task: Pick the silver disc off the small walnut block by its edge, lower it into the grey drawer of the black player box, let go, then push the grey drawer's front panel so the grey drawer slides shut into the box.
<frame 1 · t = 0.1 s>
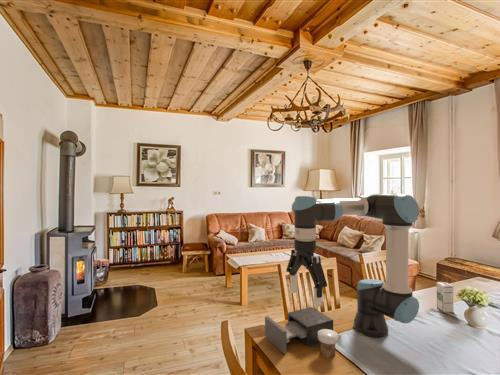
hand: (305, 299, 99), 28 cm above the table, fingers open, 13 cm apart
grey drawer: (288, 330, 123), point 5 cm above the table, slide at 10.0 cm
pedestal: (327, 353, 113), on the table
housing: (310, 334, 128), on the table
disc: (327, 339, 113), point 6 cm above the table, touching pedestal
syrup box: (445, 310, 154), on the table
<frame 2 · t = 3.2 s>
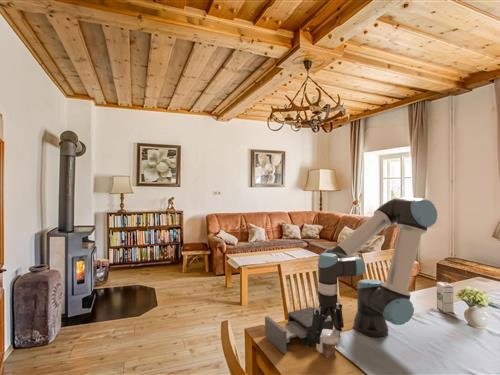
hand: (327, 348, 113), 2 cm above the table, fingers closed on disc, 8 cm apart
disc: (327, 338, 113), point 6 cm above the table, touching gripper, pedestal
everything else where it was.
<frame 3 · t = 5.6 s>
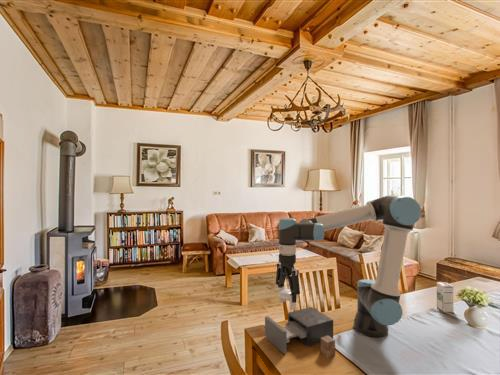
hand: (287, 305, 122), 16 cm above the table, fingers closed on disc, 8 cm apart
disc: (287, 296, 122), point 20 cm above the table, touching gripper
everything else where it was.
when the fingers open (2 cm above the table, at t = 8.0 s): disc drops 2 cm, resting on grey drawer.
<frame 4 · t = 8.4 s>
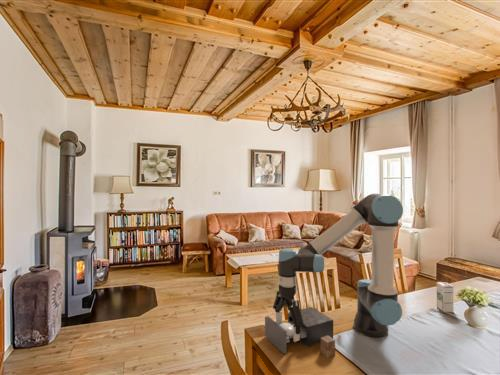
hand: (287, 333, 122), 4 cm above the table, fingers open, 13 cm apart
grey drawer: (288, 330, 123), point 5 cm above the table, slide at 10.0 cm, touching disc
disc: (287, 331, 122), point 4 cm above the table, touching grey drawer
everything else where it was.
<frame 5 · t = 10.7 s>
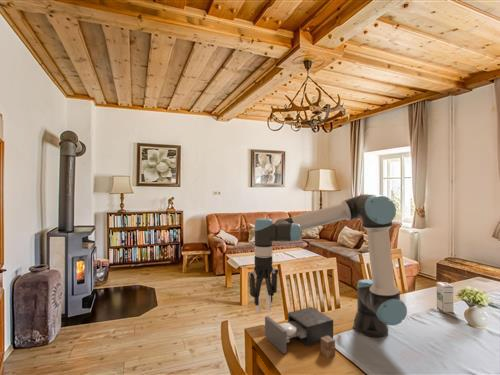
hand: (263, 311, 117), 16 cm above the table, fingers open, 4 cm apart
nothing on the table moved.
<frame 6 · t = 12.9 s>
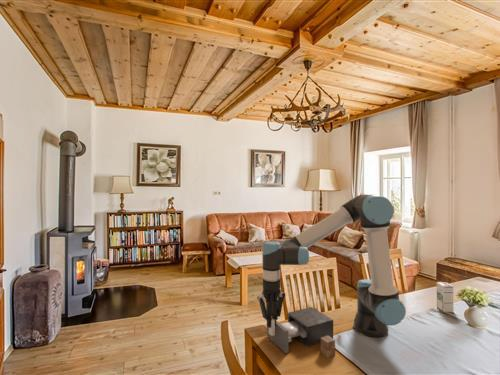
hand: (271, 334, 119), 5 cm above the table, fingers closed
grey drawer: (289, 329, 123), point 5 cm above the table, slide at 9.1 cm, touching disc, gripper
everything else where it was.
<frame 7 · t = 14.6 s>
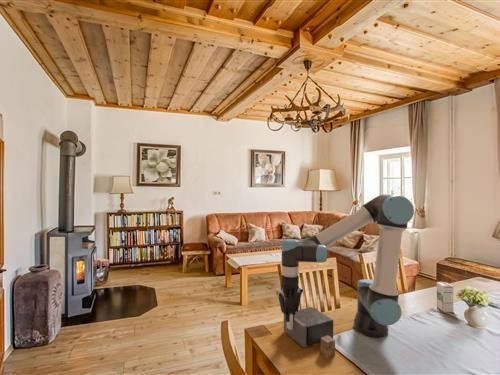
hand: (289, 328, 123), 5 cm above the table, fingers closed
grey drawer: (306, 325, 127), point 5 cm above the table, slide at -0.1 cm, touching disc, gripper
disc: (305, 326, 127), point 4 cm above the table, touching grey drawer
everything else where it was.
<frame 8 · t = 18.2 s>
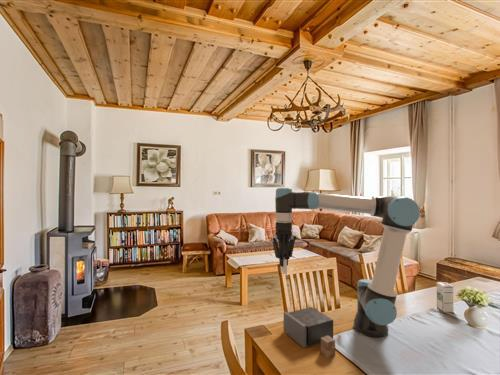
hand: (283, 273, 127), 28 cm above the table, fingers closed
grey drawer: (306, 325, 127), point 5 cm above the table, slide at 0.0 cm, touching disc
everything else where it was.
at the end: grey drawer slide at 0.0 cm; disc inside the target area on the housing (2.0 cm from its centre), point 4.2 cm above the housing's base; disc tilted 0° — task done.
